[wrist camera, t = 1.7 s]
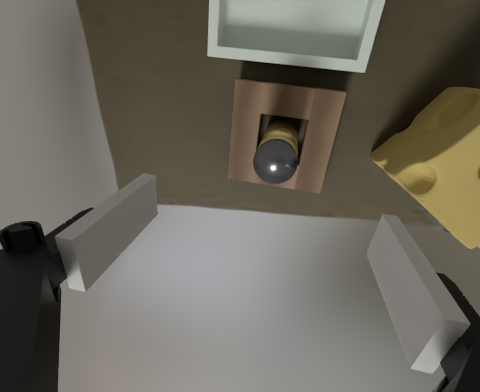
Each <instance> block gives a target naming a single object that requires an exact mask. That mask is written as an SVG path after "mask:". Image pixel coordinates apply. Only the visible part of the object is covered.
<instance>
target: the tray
mask: <svg viewBox="0 0 480 392" xmlns="http://www.w3.org/2000/svg"><path fill="white" fill-rule="evenodd" d="M384 3H385V0H209V27H208V56H210V57H219V58H228V59H238V60H247V61H257V62H266V63H276V64H285V65H294V66H304V67H313V68H323V69H332V70H342V71H351V72H362V73H365V70H366V66H367V63H368V59H369V56H370V52H371V49H372V45H373V42H374V38H375V35H376V31H377V28H378V24H379V21H380V17H381V14H382V10H383V7H384Z"/></svg>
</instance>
